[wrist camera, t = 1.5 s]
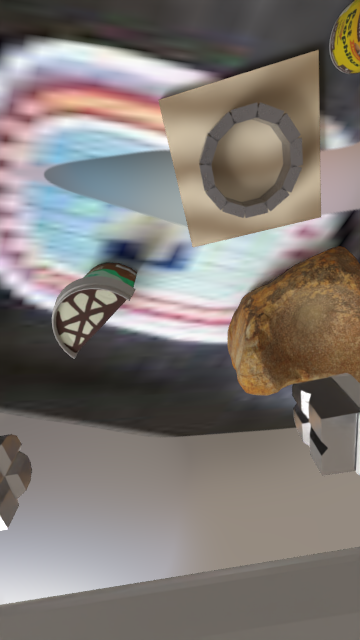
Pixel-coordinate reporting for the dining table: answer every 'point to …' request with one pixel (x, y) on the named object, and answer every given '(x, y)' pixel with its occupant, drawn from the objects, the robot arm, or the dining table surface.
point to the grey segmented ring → (288, 171)
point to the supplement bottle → (347, 40)
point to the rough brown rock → (299, 325)
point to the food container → (90, 304)
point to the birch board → (246, 147)
